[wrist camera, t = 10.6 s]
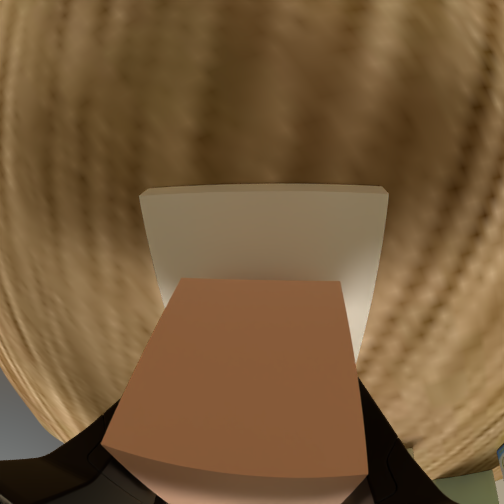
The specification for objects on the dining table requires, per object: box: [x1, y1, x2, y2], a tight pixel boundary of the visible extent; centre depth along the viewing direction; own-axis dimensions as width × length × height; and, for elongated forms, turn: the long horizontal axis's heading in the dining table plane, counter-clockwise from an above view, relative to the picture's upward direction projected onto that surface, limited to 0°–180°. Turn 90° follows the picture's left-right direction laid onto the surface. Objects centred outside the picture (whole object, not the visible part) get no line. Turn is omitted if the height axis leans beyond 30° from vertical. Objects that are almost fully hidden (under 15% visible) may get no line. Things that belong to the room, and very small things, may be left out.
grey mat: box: [139, 184, 389, 363], centre depth 12 cm, size 8×10×1 cm
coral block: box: [101, 278, 368, 504], centre depth 8 cm, size 5×5×6 cm
